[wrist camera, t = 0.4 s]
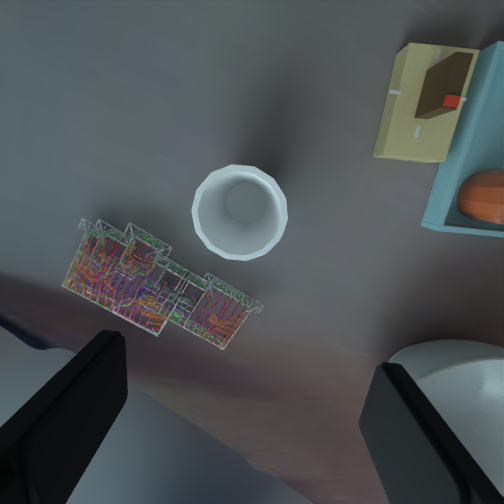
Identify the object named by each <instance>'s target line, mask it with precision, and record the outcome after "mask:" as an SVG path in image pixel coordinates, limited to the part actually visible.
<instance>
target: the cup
mask: <svg viewBox="0 0 504 504" xmlns="http://www.w3.org/2000/svg"><path fill="white" fill-rule="evenodd" d="M456 203H457V207H458V209H459V211H460V212H461V213H462V214H463V215H464V216H466V217H469V218H472V219H477V220H482V221H487V222H493V223H498V224H503V225H504V169H487V170H483V171H479V172H476V173H474V174H472V175H471V176H469V177H468V178H467V179H466V180H465V181H464V182H463V183H462V185H461V186H460V188H459V190H458V193H457V197H456Z"/></svg>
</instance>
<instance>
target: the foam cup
mask: <svg viewBox="0 0 504 504" xmlns="http://www.w3.org/2000/svg"><path fill="white" fill-rule="evenodd" d="M191 212H192V216H193V221H194V226H195V231H196V233H197V234H198V236H199V237H200V238H201V240H202V241H203V242H204V244H205V245H206V246H207V248H208V249H209V250H211V251H213V252H215V253H217V254H218V255H220V256H222V257H224V258H225V259H232V260H243V261H247V260H250V259H253V258H256V257H259V256H262V255H265V254H266V253H267V252H268V251H269V250H270V249H271V248H272V247H274V246H275V245H276V244H277V243H278V242H279V241H280V240H281V237H282V234H283V232H284V229H285V226H286V223H287V221H288V216H287V206H286V198H285V196H284V194H283V193H282V191H281V189H280V188H279V186H278V184H277V183H276V181H275V180H274V178H272V177H270V176H269V175H267V174H266V173H264V172H263V171H261V170H259V169H258V168H256V167H255V166H244V165H233V164H232V165H229V166H227V167H224V168H222V169H219V170H217V171H214V172H212V173H210V175H209V176H208V177H207V178H206V179H205V180H204V182H203V183H202V184H201V185H200V186H199V188H198V189H197V190H196V194H195V198H194V202H193V206H192V210H191Z"/></svg>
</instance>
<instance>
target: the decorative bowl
mask: <svg viewBox="0 0 504 504" xmlns="http://www.w3.org/2000/svg"><path fill="white" fill-rule="evenodd" d="M389 362H390V363H399V364H401V365H402V366H403V367H404V368H405V369H406V371H407V372H408V373H409V375H410V376H411V377H412V379H413V380H414V381H415V382H416V384H417V385H418V386H419V388H420V389H421V390H422V392H423V393H424V394H425V396H426V397H427V398H428V399H429V401H430V402H431V403H432V405H433V406H434V407H435V409H436V410H437V411H438V413H439V414H440V415H441V416H442V418H443V419H444V420H445V422H446V423H447V424H448V426H449V427H450V428H451V430H452V431H453V432H454V433H455V435H456V436H457V437H458V439H459V440H460V441H461V443H462V444H463V445H464V447H465V448H466V449H467V450H468V452H469V453H470V454H471V456H472V457H473V458H474V460H475V461H476V462H477V463H478V465H479V466H480V467H481V469H482V470H483V471H484V473H485V474H486V475H487V477H488V478H489V479H490V480H491V482H492V483H493V484H494V486H495V487H496V488H497V490H498V491H499V492H500V494H501V495H502V496H504V348H502V347H499V346H495V345H491V344H487V343H482V342H476V341H469V340H457V339H446V340H434V341H429V342H424V343H421V344H415V345H411V346H408V347H406V348H404V349H402V350H400V351H399V352H397V353H396V354H395V355H394V356H393V357H392V358H391V359H390V360H389Z"/></svg>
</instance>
